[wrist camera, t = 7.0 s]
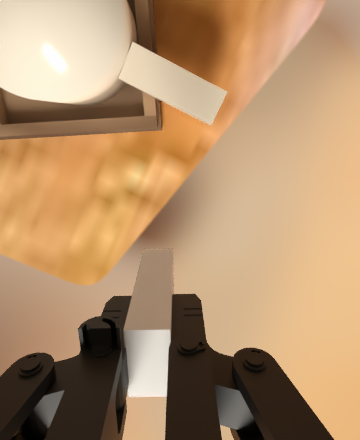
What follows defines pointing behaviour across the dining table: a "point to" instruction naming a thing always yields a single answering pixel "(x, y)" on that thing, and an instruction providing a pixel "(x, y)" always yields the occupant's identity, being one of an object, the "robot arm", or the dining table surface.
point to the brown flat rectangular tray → (87, 114)
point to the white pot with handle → (91, 57)
